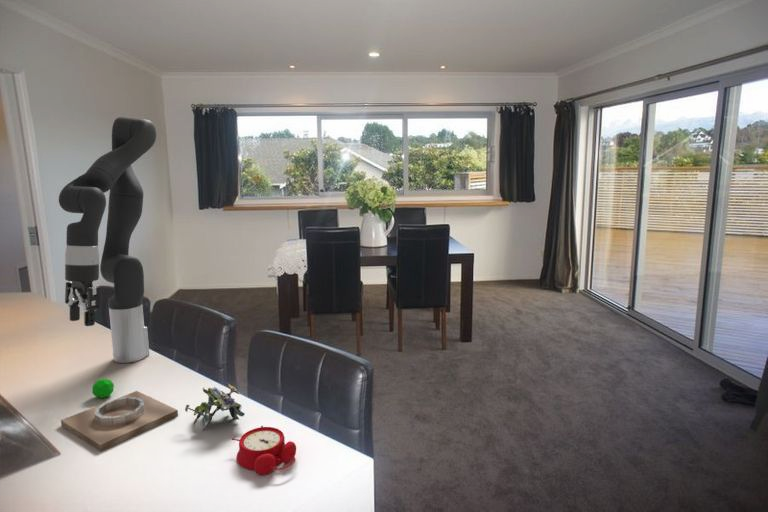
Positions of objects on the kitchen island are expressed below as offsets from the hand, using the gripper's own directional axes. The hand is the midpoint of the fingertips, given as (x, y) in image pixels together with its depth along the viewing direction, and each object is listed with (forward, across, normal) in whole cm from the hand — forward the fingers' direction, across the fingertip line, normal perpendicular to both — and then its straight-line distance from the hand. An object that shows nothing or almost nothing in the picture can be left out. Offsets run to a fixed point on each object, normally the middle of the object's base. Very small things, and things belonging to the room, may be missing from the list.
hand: (81, 323), depth 125 cm
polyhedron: (+19, -8, -2) cm, 21 cm away
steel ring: (+18, -24, +1) cm, 30 cm away
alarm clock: (+20, -64, -9) cm, 67 cm away
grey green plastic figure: (+19, -43, -11) cm, 49 cm away
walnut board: (+20, -24, +1) cm, 31 cm away
